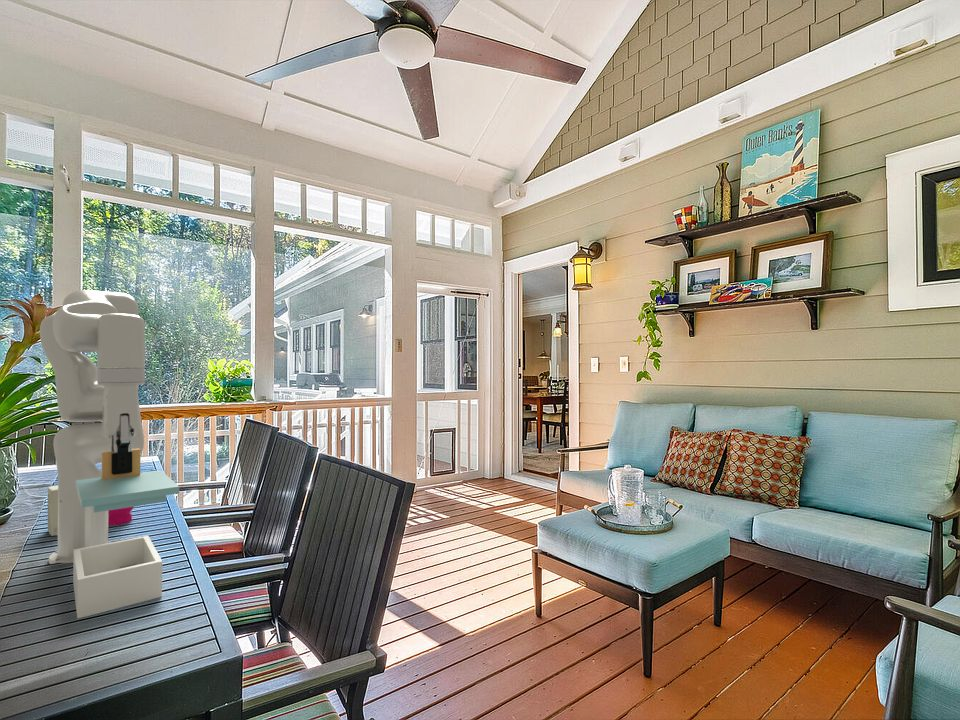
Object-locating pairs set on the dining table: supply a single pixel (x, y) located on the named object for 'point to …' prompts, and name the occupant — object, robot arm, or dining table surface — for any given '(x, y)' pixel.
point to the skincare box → (53, 510)
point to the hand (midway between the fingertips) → (121, 471)
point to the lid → (124, 486)
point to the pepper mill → (119, 516)
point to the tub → (116, 575)
